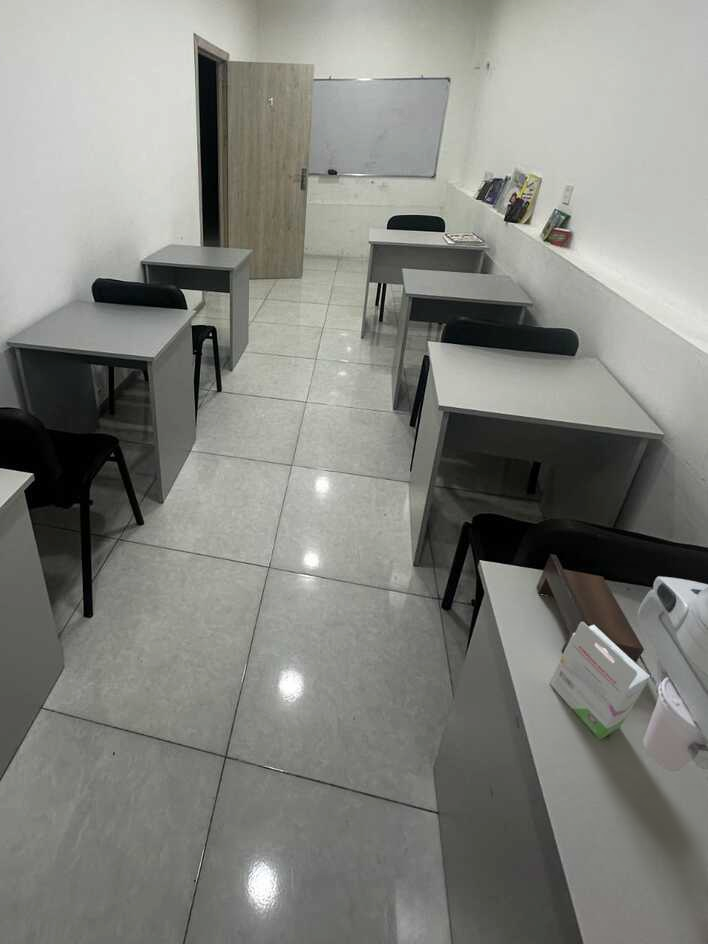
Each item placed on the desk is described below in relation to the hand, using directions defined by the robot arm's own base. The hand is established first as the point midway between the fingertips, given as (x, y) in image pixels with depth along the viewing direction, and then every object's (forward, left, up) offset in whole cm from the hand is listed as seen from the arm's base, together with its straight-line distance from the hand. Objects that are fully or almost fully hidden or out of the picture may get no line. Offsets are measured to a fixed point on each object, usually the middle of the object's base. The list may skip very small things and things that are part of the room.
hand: (680, 726), depth 56 cm
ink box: (0, -12, -17) cm, 21 cm away
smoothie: (0, 0, -6) cm, 6 cm away
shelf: (-5, -26, -17) cm, 31 cm away
